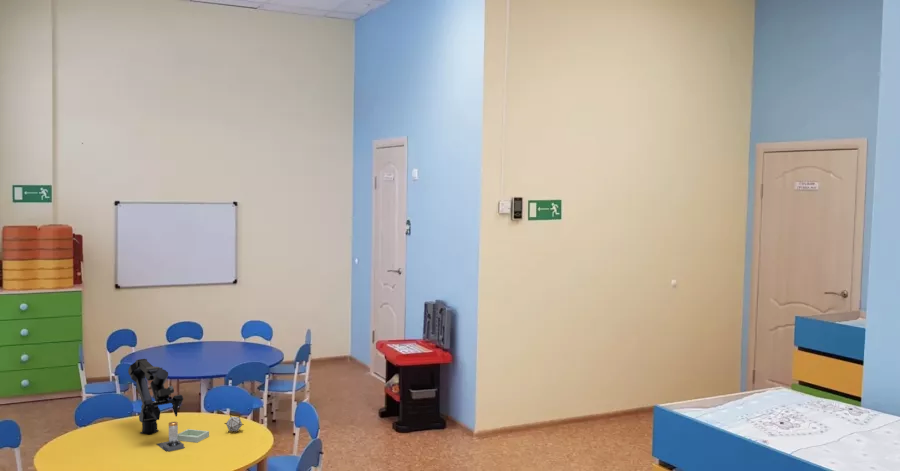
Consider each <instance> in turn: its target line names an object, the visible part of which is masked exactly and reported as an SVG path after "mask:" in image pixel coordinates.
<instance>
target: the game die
mask: <svg viewBox="0 0 900 471" xmlns="http://www.w3.org/2000/svg"><path fill="white" fill-rule="evenodd" d="M229 416H230V417H229V418H228V420H227V421H226V422H224V424H225V425H226V428H227V429H228V432H227V433H230V432H237V433H239V430H240V429H241V427H242V426H244V424H243V423H242V421H241V418H240V417H241V415H238V416H232V415H229Z"/></svg>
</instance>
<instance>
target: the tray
mask: <svg viewBox="0 0 900 471" xmlns="http://www.w3.org/2000/svg"><path fill="white" fill-rule="evenodd" d="M209 437H210V431H209V430H201V429H200V430H198V429H190V428H187V429H185V430H183V431H181V432H178V441H180V442H186V443H187V442H189V443H200V442H201V441H203V440H204V439H207V438H209Z"/></svg>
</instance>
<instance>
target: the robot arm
mask: <svg viewBox="0 0 900 471" xmlns="http://www.w3.org/2000/svg"><path fill="white" fill-rule="evenodd" d="M127 370H128V372H127V373H128V375H129V376H130V379H131V380H132V381H133V382H135V383H136V387H137V390H138V394H139V396H140V400H141V403H142V404H141V406H140V407H141V408H140V409H141V410H140V413H139V416H138V419H139V422H141V425H142V426H141V431H140V434H141V435H142V434H144V435H152V434H155V433H157V432H159V429H158V422H157V421H159V420H160V417H161V409H160V408H159V406H162V405H169V404H171V405H172V410H173V413H174V416H175V417H178V409H179V407H180V405H182V403H183V400H184V397H183V395H182V394H177V395H173V397H172V398H170V396H171V395H172V394H174V392H175V390H174V386H173V385H172V386H168V387H165V383H166V381H167V379H168V377H169V371H167V370H165V369H163V367H160V366H153V365H152V364H151V363H150V362H149V361H148V359H147V358H139V359H136V360H135V362H133V363H132V364H130V365H129V367H128V369H127ZM148 381H151V382H150V384H149V385H150V386H148V383H147V382H148ZM149 387H150V389H151V391H152V395H151V392H150V390H149ZM152 398H153V399H154V400H152Z"/></svg>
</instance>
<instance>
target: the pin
mask: <svg viewBox="0 0 900 471" xmlns="http://www.w3.org/2000/svg"><path fill="white" fill-rule="evenodd" d="M178 425H179V424H178V422H177V421H171V422H168V441H169V446H174V445H178V434H179V428H178Z"/></svg>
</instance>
